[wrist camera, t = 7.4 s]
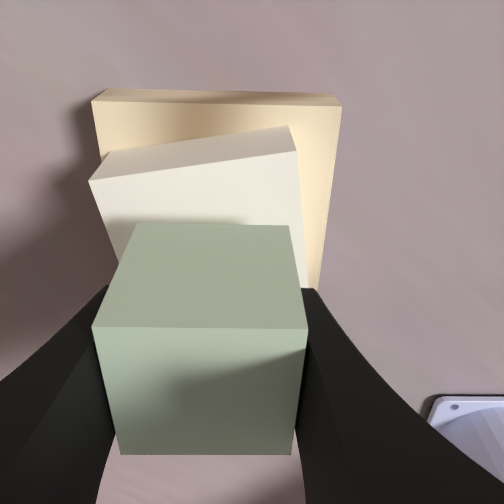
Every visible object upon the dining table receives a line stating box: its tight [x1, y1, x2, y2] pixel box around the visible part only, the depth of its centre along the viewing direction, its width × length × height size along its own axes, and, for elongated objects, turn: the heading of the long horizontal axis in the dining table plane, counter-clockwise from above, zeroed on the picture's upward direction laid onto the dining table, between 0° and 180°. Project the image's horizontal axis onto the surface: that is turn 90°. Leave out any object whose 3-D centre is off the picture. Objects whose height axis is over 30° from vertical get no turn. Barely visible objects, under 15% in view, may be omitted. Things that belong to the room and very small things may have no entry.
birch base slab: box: [91, 88, 342, 291], centre depth 17 cm, size 8×8×2 cm
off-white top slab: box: [88, 125, 309, 288], centre depth 15 cm, size 6×6×2 cm
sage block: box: [92, 223, 308, 455], centre depth 11 cm, size 4×4×4 cm
